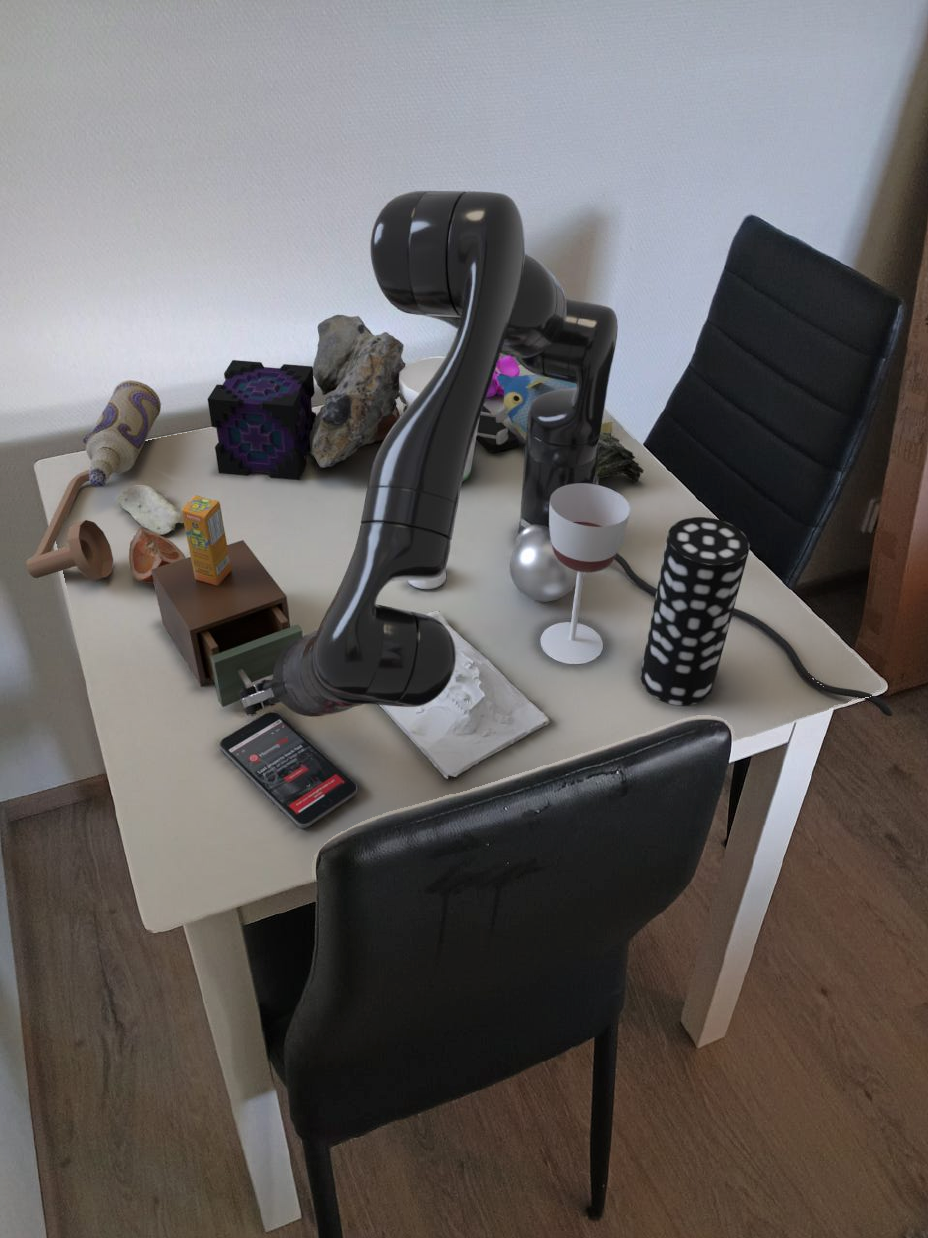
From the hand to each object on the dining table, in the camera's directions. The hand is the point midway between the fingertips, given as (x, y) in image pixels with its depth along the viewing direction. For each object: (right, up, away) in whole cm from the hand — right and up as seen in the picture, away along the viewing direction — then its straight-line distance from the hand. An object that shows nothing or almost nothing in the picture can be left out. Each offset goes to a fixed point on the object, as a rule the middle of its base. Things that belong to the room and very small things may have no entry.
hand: (280, 686), depth 106 cm
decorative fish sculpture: (+34, +45, +51) cm, 76 cm away
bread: (+3, +37, +52) cm, 64 cm away
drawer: (-5, +1, +8) cm, 10 cm away
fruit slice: (-20, +13, +22) cm, 32 cm away
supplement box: (-9, +12, +9) cm, 18 cm away
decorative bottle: (-27, +40, +51) cm, 70 cm away
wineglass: (+32, +4, +15) cm, 36 cm away
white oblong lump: (-23, +22, +32) cm, 45 cm away
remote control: (+22, +37, +52) cm, 68 cm away
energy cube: (-10, +32, +45) cm, 56 cm away
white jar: (+14, +12, +23) cm, 30 cm away
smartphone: (+1, -9, -2) cm, 9 cm away
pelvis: (+24, +50, +57) cm, 80 cm away
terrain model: (+17, -1, +8) cm, 19 cm away
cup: (+16, +29, +42) cm, 54 cm away
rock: (+9, +37, +41) cm, 56 cm away
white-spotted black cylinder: (+44, 0, +10) cm, 45 cm away
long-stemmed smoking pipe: (-30, +18, +29) cm, 46 cm away
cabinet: (-9, +5, +14) cm, 17 cm away
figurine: (+26, +36, +44) cm, 63 cm away
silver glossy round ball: (+32, +10, +18) cm, 38 cm away
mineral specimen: (+40, +31, +36) cm, 62 cm away
